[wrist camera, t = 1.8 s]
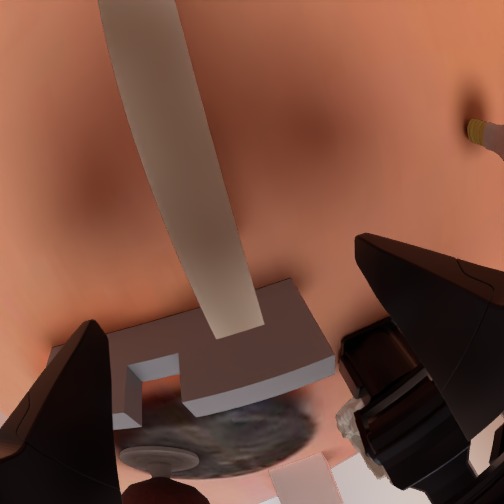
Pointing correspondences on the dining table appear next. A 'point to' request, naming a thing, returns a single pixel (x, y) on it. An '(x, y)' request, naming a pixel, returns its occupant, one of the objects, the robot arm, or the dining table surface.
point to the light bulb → (487, 135)
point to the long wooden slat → (180, 157)
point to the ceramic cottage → (357, 433)
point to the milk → (306, 482)
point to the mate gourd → (160, 476)
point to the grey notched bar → (219, 357)
